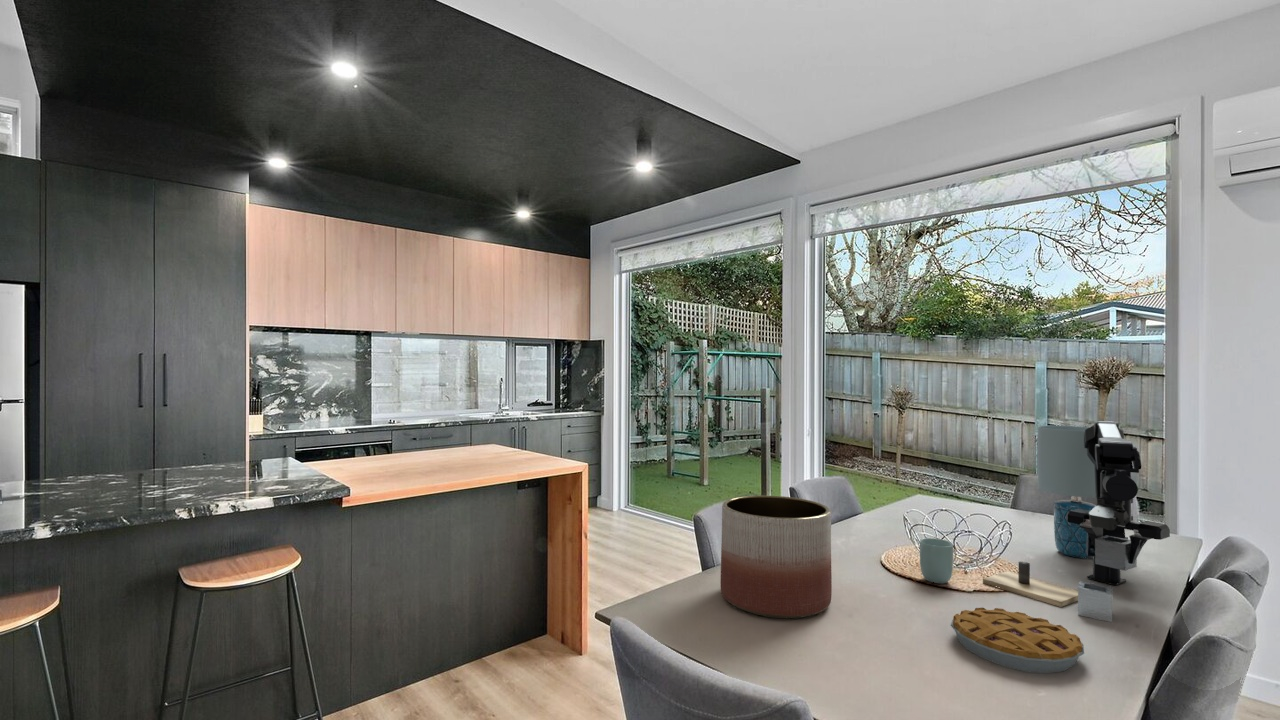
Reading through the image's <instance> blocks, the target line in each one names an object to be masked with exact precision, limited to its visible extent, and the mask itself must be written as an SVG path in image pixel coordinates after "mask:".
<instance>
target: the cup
mask: <svg viewBox="0 0 1280 720" xmlns="http://www.w3.org/2000/svg"><path fill="white" fill-rule="evenodd" d="M919 564H920V565H919V566H920V572H921V575H922V576H923V578H924V579H925V580H926V581H928V582H930V583H933V582H934V583H933V584H947V583H948V582H949V581H950V580H951V578H952V576H953V570H954V544H953V543H952V542H951V541H949V540H947V539H946V540H945V539H941V538H933V537H932V538H931V537H930V538H929V537H926V538H925V537H924V538H921V539H920V540H919Z"/></svg>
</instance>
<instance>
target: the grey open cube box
mask: <svg viewBox="0 0 1280 720" xmlns="http://www.w3.org/2000/svg"><path fill="white" fill-rule="evenodd" d="M1077 590H1078V601H1077V615H1078V616H1081V617H1085V618H1090V619H1095V620H1098V621H1099V620H1100V621H1104V622H1110V623H1113V586H1110V585H1109V586H1108V585H1103V584H1098V583H1092V582H1087V581H1083V580H1082V581H1081V580H1079V582H1078V586H1077Z"/></svg>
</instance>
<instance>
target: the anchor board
mask: <svg viewBox="0 0 1280 720" xmlns="http://www.w3.org/2000/svg"><path fill="white" fill-rule="evenodd" d="M1030 567H1031V564H1030V563H1029V562H1028V561H1022V560H1021V561H1019V560H1018V573H1016V572H1013V571H1010V570H1007V571H1004V572H1003V571H1002V572H1000V573H997V574H994V575H991V576H987V577H983V578H982V584H984V583H986V584H985V585H987V584H989V585H988V586H990V585H993V586H992V587H994V586H997V587H1000V588H1003V589H1005V591H1007V592H1011V593H1014V594H1017V595H1020V596H1024V597H1028V598H1031V599H1033V600H1036V601H1039V602H1043V603H1047V604H1049V605H1053V606H1056V607H1059V608H1063V607H1065V606H1067V605H1070V604H1072V603H1075V602H1078V589H1075V588H1071V587H1067V586H1063V585H1060V584H1057V583H1052V582H1049V581H1046V580H1042V579H1037V578H1035V577H1031V575H1030V574H1031V568H1030ZM997 587H996V588H997ZM1000 588H999V589H1000ZM1003 589H1002V590H1003Z"/></svg>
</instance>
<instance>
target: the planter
mask: <svg viewBox="0 0 1280 720" xmlns="http://www.w3.org/2000/svg"><path fill="white" fill-rule="evenodd" d="M720 544H721V547H720V548H721V549H720V551H721V552H720V593H721V595H722V597H723V598H724V599H725V601H727V602H728V603H729V604H730V605H733V606H734V607H736V608H738V609H740V610H741V611H744V612H747V613H750V614H753V615H757V616H763V617H765V618H766V617H768V618H775V619H799V618H800V619H801V618H806V617H811V616H815V615H817V614H820V613H821V612H823V611H825V610H826V609H827V608H829V607H830V605H831V603H832V592H833V591H832V590H833V589H832V588H833V587H832V584H833V583H832V579H833V578H832V510H831V508H829V506H827V505H826V504H823V503H821V502H816V501H813V500H810V499H803V498H798V497H794V496H793V497H792V496H782V495H781V496H780V495H745V496H738V497H737V496H736V497H733V498H728V499H726V500H725V501H723V503H722V506H721V543H720Z"/></svg>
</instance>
